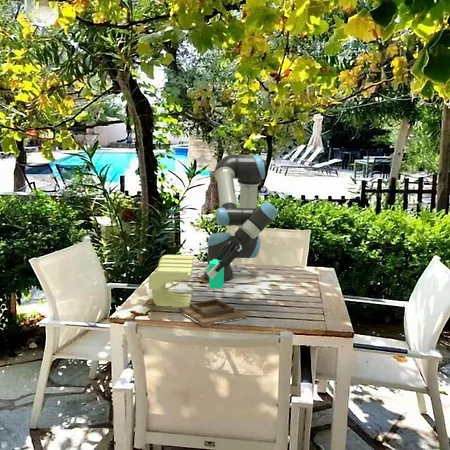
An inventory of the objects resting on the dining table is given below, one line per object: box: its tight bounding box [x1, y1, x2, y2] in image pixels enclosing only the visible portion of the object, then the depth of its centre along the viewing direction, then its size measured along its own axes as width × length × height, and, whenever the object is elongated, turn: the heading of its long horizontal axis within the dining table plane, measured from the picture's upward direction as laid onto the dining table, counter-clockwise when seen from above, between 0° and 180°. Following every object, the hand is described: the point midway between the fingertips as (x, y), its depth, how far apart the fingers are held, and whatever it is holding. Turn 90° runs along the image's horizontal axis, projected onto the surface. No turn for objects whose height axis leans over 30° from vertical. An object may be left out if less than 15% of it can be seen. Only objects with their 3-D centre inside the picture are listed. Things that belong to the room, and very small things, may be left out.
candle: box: [208, 260, 225, 290], centre depth 209 cm, size 6×6×12 cm
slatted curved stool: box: [148, 254, 195, 308], centre depth 225 cm, size 30×16×18 cm, turn 179°
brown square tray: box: [178, 298, 246, 328], centre depth 211 cm, size 20×20×4 cm
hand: (207, 274), depth 208 cm, fingers closed on candle, 6 cm apart
